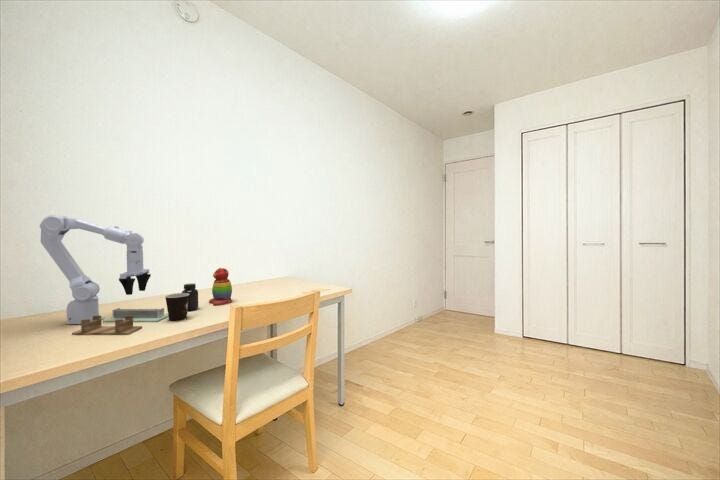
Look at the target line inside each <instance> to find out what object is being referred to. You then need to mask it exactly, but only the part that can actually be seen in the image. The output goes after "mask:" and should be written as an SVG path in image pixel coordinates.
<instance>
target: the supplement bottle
mask: <svg viewBox="0 0 720 480" xmlns="http://www.w3.org/2000/svg"><path fill="white" fill-rule="evenodd" d="M196 287H197V286H196V283H184V284H183V290H182V291H181V293H188V294H189V301H188V310H187V312H192V311H196V310H198V309H199V290H198V289H196Z"/></svg>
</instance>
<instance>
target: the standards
mask: <svg viewBox="0 0 720 480" xmlns="http://www.w3.org/2000/svg"><path fill="white" fill-rule="evenodd" d="M101 317H102V316H101V315H100V314H99V315H94V316H93V320H91V321H90V319H83V320H81V324H80V327H81V329H79V330H75V331H72V332H71V336H102V335H103V336H116V335H117V336H129V335H132V334H133V333H135V332H138V331H139V330H142V329H143V326H142V325H137V326H135V325H134V322H133V315H126V316H125V320H123V319H116V320H115V322H114V325H113V326H109V325H103V326H102V319H101Z"/></svg>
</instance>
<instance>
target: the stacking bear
mask: <svg viewBox="0 0 720 480" xmlns="http://www.w3.org/2000/svg"><path fill="white" fill-rule="evenodd" d="M229 272H230V271H228V269H227V268H224V267H223V268H222V267H219V268H217V269H216V270H215V271H214V273H213V274H212V277H213V278H214V279H215V280H213V283H212V288H211V290H212V291H211V294H212V297H213V298H210V299H209V300H208V303H209V304H212V305H213V307H214V306H215V307H217V306H224V305H228V304H230V303H232V302H233V300H232V295H233V294H232V293H233V286H232V283H231V280H230V279H229V274H230V273H229Z"/></svg>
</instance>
